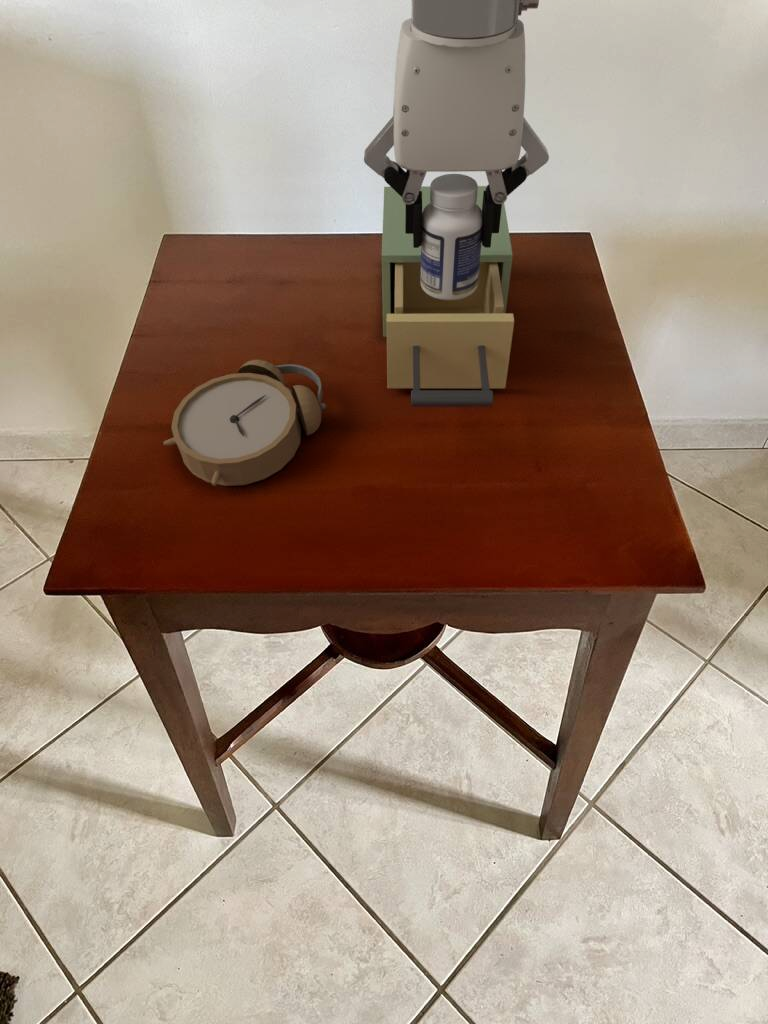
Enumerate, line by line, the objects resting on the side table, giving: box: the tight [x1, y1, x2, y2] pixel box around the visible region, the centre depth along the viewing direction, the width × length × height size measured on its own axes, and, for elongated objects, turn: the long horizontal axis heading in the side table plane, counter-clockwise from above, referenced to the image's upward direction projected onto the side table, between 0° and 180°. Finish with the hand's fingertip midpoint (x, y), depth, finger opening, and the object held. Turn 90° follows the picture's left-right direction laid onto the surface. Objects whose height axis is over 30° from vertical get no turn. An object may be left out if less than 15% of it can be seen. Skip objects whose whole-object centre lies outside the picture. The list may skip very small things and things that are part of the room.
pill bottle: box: [420, 173, 483, 300], centre depth 69 cm, size 5×5×10 cm
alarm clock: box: [163, 359, 327, 487], centre depth 71 cm, size 11×5×15 cm
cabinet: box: [381, 185, 514, 338], centre depth 83 cm, size 14×13×10 cm
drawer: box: [386, 262, 515, 408], centre depth 74 cm, size 20×11×8 cm, turn 179°
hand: (451, 237), depth 69 cm, fingers closed on pill bottle, 5 cm apart
